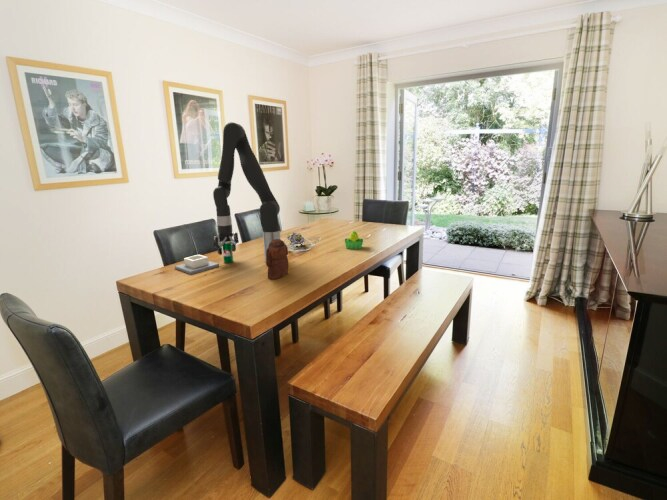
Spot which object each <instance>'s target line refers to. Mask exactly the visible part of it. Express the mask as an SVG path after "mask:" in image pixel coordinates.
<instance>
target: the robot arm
mask: <svg viewBox="0 0 667 500" xmlns="http://www.w3.org/2000/svg"><path fill="white" fill-rule="evenodd" d="M222 131H223V132H222V133H223V134H222V150H221V158H220V163H219V168H218V174H217V180H218V183H217V184H218V185H217V187H215V188H214V189H213V194H212V197H213V200H214V205H215V209H216V224H217V226H216V227H217V233H218V236H215V235H214V236H213V238H212V242H213V247H214V248H216V249H217V254H218V255H220V256H223V249H222V245H223V244H224V242H226V241H230V240H231V242H232V252H236V250H237V249H236V248H237V247H236V245H237V244H239V235H238V234H239V233H238V232H233V222H232V221H233V220H232V215H231V208H230V205H229V204H228V203H229V202H228V198H229V197H230V194H231V190H232V179H233V175H234V169H235V153H236V152H235V151H237V153H238V157H239V161H240V167H241V170H242V173H243V175H244V176H245V178H246V181H247V182H248V184H249V185H250V186H251V188H252V189H253V190H254V191H255V193H256V194H257V196H258V198H259V199H260V200H259V201H260V202H261V205H260V206H259V217H260V218H259V219H260V226H261V230H262V240H263V253H264V262H265V263H266V251H267V249H268V246H269V243H270V242H271V241H272V240H274V239H280V240H281V226H280V224H279V218H278V217H279V216H278V215H279V213H280V209H281V208H280V205H279V202H278V201H277V199H276V198H275V195H274V194H273V192H272V191H271V188H270V185H269V184H268V180H267V179H266V176H265V174H264V171H263V170H262V169H263V168H262V167H261V164H260V163H259V161H258V159H257V157H256V155H255V153H254V151H253V150H252V147H251V145H250V142H249V139H248V136H247V134H246V130H245V129H244V127H243V125H241V124H239V123H237V122H231V121H230V122H228V123H226V124H225V125H224V127H223V130H222Z"/></svg>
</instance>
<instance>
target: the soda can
mask: <svg viewBox="0 0 667 500" xmlns="http://www.w3.org/2000/svg"><path fill="white" fill-rule="evenodd" d="M221 248H222V256H223V257H222V259H223V262H224V263H226V264H228V263H233V262H234V255H233V252H234V251H232V242H231V240H230V241H226V242H224V244H223V245H222V247H221Z"/></svg>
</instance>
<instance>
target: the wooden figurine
mask: <svg viewBox="0 0 667 500" xmlns="http://www.w3.org/2000/svg"><path fill="white" fill-rule="evenodd" d="M288 250H289V249H288V246H287V245H286V244H285V242H284V241H283V240H282V239H281V238H280V239H274V240H272V241H271V242H270V243H269V246H268V249H267V251H266V262H265V264H266V267H267V278H268V279H270V280H276V279H279V278H281V277H283V276H285V275H287V274H288V272H289V259H288V255H289V251H288Z"/></svg>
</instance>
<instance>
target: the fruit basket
mask: <svg viewBox="0 0 667 500" xmlns="http://www.w3.org/2000/svg"><path fill="white" fill-rule="evenodd" d="M363 243H364V238H359V235H358V233H357V231H355V230H354V231H351V232H350V234H349V238H345V239H344V244H345V248H346V250H348V249H349V250H362V246H363Z"/></svg>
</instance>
